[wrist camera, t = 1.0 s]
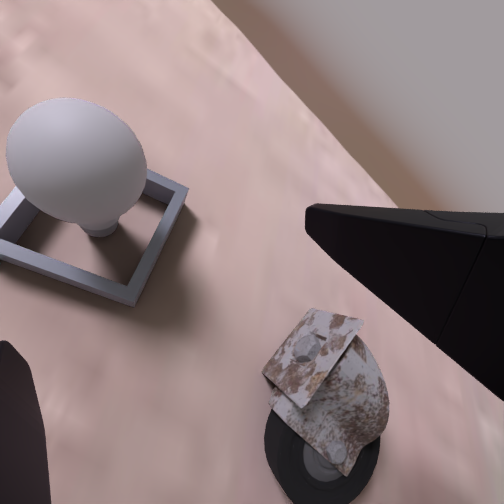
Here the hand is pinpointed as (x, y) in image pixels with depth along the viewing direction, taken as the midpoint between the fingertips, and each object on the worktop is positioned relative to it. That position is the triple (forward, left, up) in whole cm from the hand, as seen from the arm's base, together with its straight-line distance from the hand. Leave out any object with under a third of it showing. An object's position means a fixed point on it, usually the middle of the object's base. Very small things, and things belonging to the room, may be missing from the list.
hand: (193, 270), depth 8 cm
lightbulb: (+5, +7, -15) cm, 17 cm away
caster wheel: (-2, -14, -15) cm, 20 cm away
